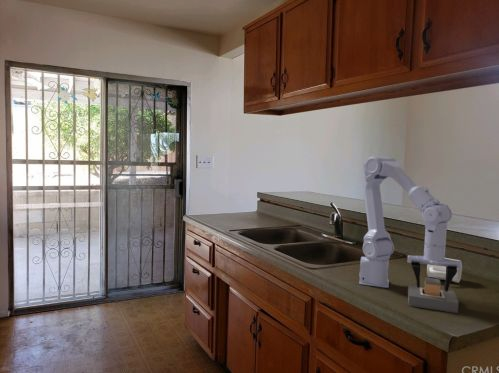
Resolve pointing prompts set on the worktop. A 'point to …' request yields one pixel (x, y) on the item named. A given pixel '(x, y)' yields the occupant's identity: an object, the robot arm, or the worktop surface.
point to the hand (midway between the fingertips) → (431, 288)
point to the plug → (432, 287)
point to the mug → (442, 272)
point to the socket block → (432, 299)
